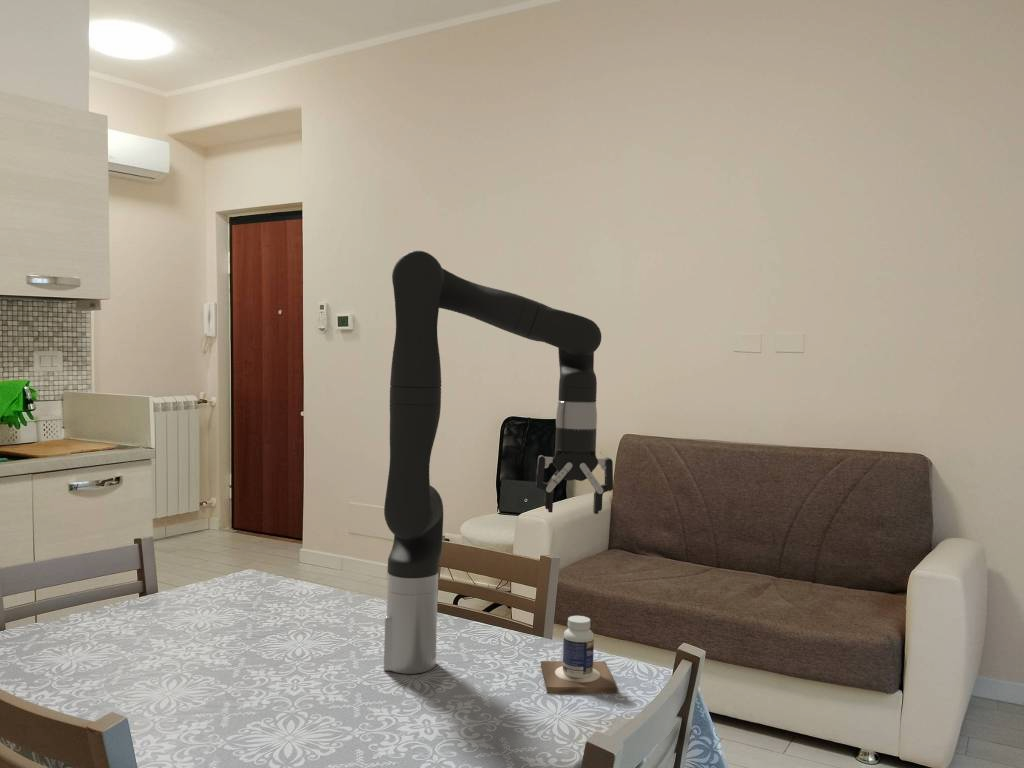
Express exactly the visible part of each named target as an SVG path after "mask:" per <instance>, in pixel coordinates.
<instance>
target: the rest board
mask: <svg viewBox="0 0 1024 768" xmlns="http://www.w3.org/2000/svg"><path fill="white" fill-rule="evenodd" d="M540 668H541V673H542V677H543V681H544V686H545V690H546V693H547V694H553V693H554V694H617V693H618V686H617V685H616V682H615V680H614V678H613V676H612V674H611V672H610V668H609V666H608V664H607V662H606V661H594V660H593V673H592V675H591V676H589V677H586V678H573V677H569V676H567V675H565V674H564V673H563V660H540Z"/></svg>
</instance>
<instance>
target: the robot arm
mask: <svg viewBox="0 0 1024 768" xmlns="http://www.w3.org/2000/svg"><path fill="white" fill-rule="evenodd" d="M391 280H392V288H393V297H394V307H395V312H394V313H395V337H394V343H393V344H394V345H393V350H392V357H391V358H392V359H391V360H392V361H391V367H390V368H391V369H390V380H389V381H390V382H389V466H388V467H389V468H388V476H387V484H386V491H385V498H384V499H385V501H384V508H383V511H384V520H385V522H386V525H387V528H388V529H389V530H390V532H391V533H392V534H393V542H392V543H393V544H392V547H391V550H390V553H389V556H388V559H387V582H386V583H387V585H386V587H387V589H386V614H385V618H384V642H383V643H384V645H383V650H384V651H383V671H390V672H393V673H397V674H403V675H404V674H406V675H407V674H410V675H411V674H420V673H425V672H428V671H431V670H432V669H434V668H435V667H436V665H437V664H436V663H437V636H438V635H437V629H438V595H439V593H438V590H439V589H438V588H439V587H438V586H439V563H440V559H441V555H442V548H443V529H444V504H443V499H442V497H441V495H440V493H439V492H438V490H437V489H436V488H435V487H434V486H432V485H430V484H431V483H430V463H431V462H430V461H431V456H432V450H433V446H434V443H435V440H436V435H437V431H438V427H439V421H440V418H441V417H440V416H441V406H442V368H441V367H442V366H441V358H440V355H441V354H440V348H439V339H438V338H439V337H438V321H439V311H440V309H443V310H448V311H451V312H455V313H458V314H461V315H464V316H467V317H471V318H472V319H475V320H478V321H481V322H483V323H485V324H488V325H490V326H492V327H495V328H498V329H500V330H503V331H506V332H508V333H510V334H514V335H516V336H519V337H522V338H525V339H527V340H530V341H533V342H534V341H535V342H542V343H545V344H548V345H550V346H553V347H555V348H558V349H557V351H558V364H559V380H558V381H559V382H558V398H557V399H558V401H557V409H556V415H555V416H556V419H555V446H554V447H555V448H554V455H553V456H544V455H542V454H540V455H538V457H537V465H536V466H537V467H536V473H535V486H536V488H537V489H539V490H542V491H544V507H545V509H546V510H547V512H548V513H553V510H554V509H553V507H554V506H553V503H554V491H553V490H554V489H555V488H556V486H557V485H559V484H560V482H561V481H562V480H563V479H564V480H565V481H569V482H570V481H579V482H583V481H585V480H588V482H589V484H590V485H591V486H592V488H594V490H595V491H594V492H593V509H592V511H593V514H594V515H598V514H599V512H601V511H602V509H603V497H604V493H607V492H612V491H613V490H614V468H613V466H614V465H613V464H614V463H613V459H612V458H610V457H604V458H597V454H596V453H597V450H596V448H597V428H598V427H597V425H598V411H597V389H598V388H597V387H598V386H597V385H598V383H597V382H598V381H597V375H596V372H595V370H594V369H595V368H594V367H595V366H594V364H595V363H594V361H595V352H596V351H597V350H598V349H599V347H600V345H601V342H602V332H601V329H600V327H599V326H598V325H597V323H596V322H595V321H594V320H592V319H590V318H588V317H585V316H582V315H579V314H575V313H572V312H568V311H565V310H562V309H557V308H553V307H550V306H549V305H546V304H545V303H542V302H539V301H536V300H534V299H530V298H528V297H525V296H522V295H520V294H516V293H512V292H509V291H505V290H502V289H499V288H498V289H497V288H494V287H490V286H486V285H482V284H478V283H475V282H472V281H470V280H467V279H464V278H462V277H460V276H458V275H456V274H454V273H452V272H450V271H449V270H447V269H445V268H443V267H442V265H441V264H440V262H439V261H438V259H437V258H436V257H435V256H433V255H432V254H430V253H428V252H426V251H424V250H412V251H409V252H407V253H404V254H403V255H402V256H401V257H400V258H398V260H397V261H396V263H395V264H394V266H393V269H392V275H391ZM550 464H552V465H553V466H554V467H555V469H556V471H555V473H554V474H553V475H552V476H551V478H550V479H549V481H548V482H544V478H545V477H544V475H545V469H547V468H549V466H550ZM598 465H599V466H600V468H601V470H603V471H604V484H600V483H599V481H598V480H597V478H596V477H595V475H594V474H593V472H594V470H595V469H596V468H597V466H598Z"/></svg>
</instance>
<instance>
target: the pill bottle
mask: <svg viewBox="0 0 1024 768" xmlns="http://www.w3.org/2000/svg"><path fill="white" fill-rule="evenodd" d="M567 627H568V628H566V629H565V630H564V632H563V649H562V661H563V673H564V674H565V675H567V676H569V677H573V678H586V677H589V676H591V675H592V673H593V661H594V644H595V643H594V642H595V635H594V632H593V631H592V630H591V629H590V628H591V618H589V617H587V616H584V615H571V616H568V617H567Z"/></svg>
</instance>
